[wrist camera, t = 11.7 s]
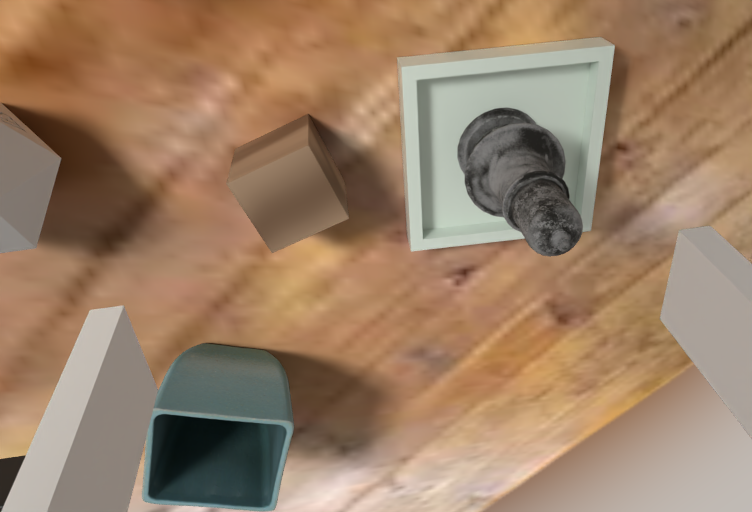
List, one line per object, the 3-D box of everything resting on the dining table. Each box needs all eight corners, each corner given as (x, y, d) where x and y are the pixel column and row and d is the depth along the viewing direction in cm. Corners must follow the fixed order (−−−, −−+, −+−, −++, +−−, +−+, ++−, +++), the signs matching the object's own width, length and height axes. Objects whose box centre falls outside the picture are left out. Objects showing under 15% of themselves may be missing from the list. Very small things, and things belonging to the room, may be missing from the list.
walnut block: (235, 148, 38) (226, 183, 34) (308, 113, 37) (308, 145, 33) (275, 212, 40) (272, 253, 36) (344, 181, 40) (348, 218, 36)
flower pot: (174, 316, 44) (146, 409, 36) (297, 331, 46) (295, 423, 38) (167, 404, 48) (141, 504, 41) (279, 415, 50) (275, 513, 43)
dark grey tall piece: (458, 200, 40) (508, 312, 30) (446, 114, 37) (498, 207, 27) (547, 180, 40) (628, 287, 30) (543, 93, 37) (632, 178, 27)
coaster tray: (396, 57, 36) (401, 67, 34) (600, 36, 36) (614, 45, 35) (406, 236, 42) (411, 251, 40) (579, 216, 43) (590, 230, 41)
